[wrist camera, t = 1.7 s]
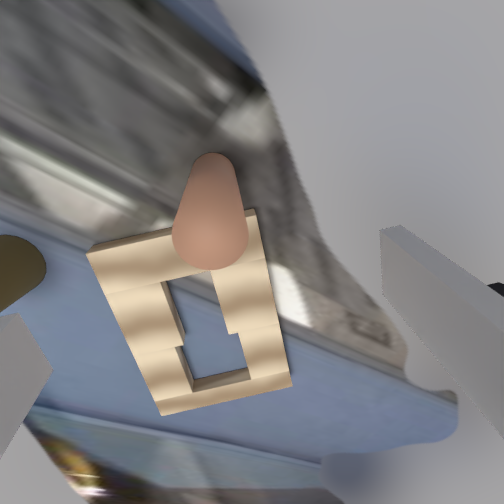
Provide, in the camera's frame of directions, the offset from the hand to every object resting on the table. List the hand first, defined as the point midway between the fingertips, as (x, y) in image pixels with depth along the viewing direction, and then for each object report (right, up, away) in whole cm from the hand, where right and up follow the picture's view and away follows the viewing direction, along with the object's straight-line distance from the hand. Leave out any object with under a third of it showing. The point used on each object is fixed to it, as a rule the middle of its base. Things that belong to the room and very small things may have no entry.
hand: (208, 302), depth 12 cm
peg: (-2, +9, +19) cm, 21 cm away
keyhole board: (-4, -5, +25) cm, 26 cm away
